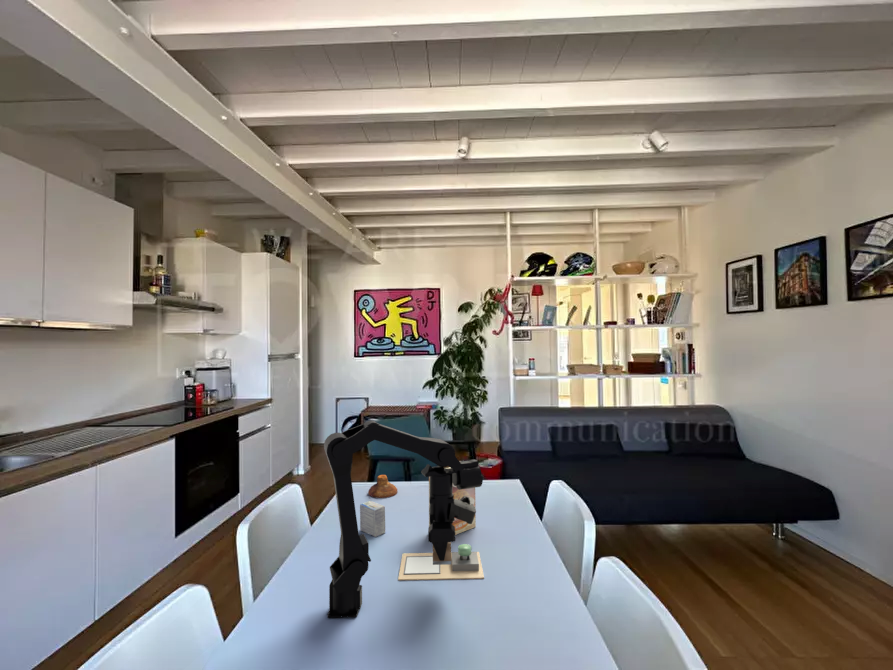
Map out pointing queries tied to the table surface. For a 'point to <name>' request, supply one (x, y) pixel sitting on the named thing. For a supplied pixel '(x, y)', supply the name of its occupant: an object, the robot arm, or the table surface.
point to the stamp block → (447, 556)
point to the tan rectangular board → (432, 568)
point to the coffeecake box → (458, 494)
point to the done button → (464, 550)
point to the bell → (382, 488)
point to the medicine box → (372, 518)
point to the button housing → (465, 562)
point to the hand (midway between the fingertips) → (441, 555)
